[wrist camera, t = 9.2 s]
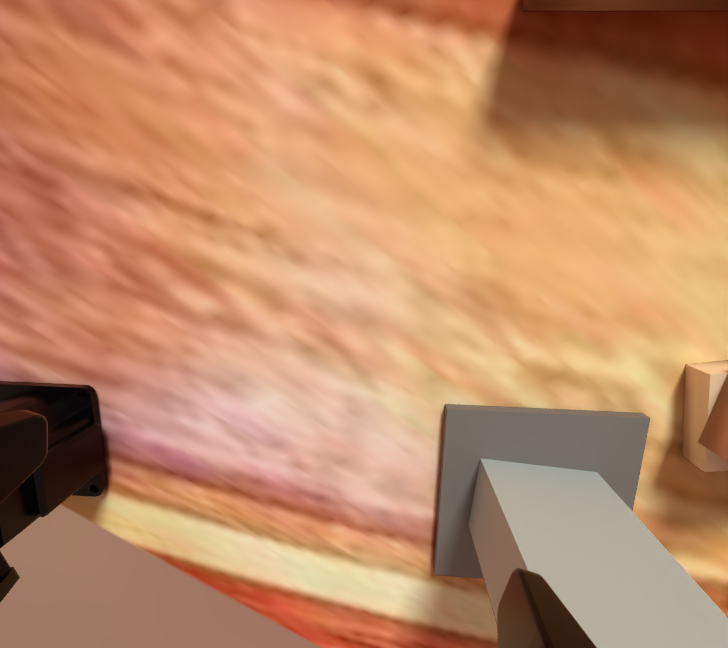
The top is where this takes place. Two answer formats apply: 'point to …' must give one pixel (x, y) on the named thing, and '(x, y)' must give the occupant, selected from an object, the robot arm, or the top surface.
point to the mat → (526, 461)
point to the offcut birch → (702, 411)
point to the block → (588, 557)
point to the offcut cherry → (717, 425)
